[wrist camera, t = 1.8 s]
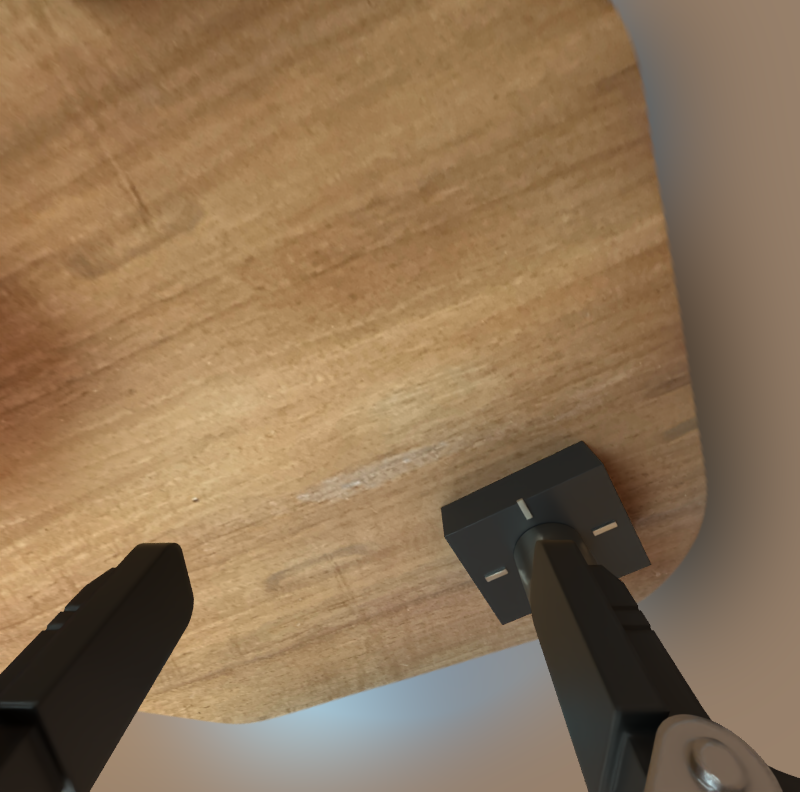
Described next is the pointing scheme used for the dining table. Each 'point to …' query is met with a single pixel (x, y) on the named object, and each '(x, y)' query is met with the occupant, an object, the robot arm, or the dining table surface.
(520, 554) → the knob
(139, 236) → the dining table surface
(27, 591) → the dining table surface
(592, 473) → the panel
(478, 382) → the dining table surface
